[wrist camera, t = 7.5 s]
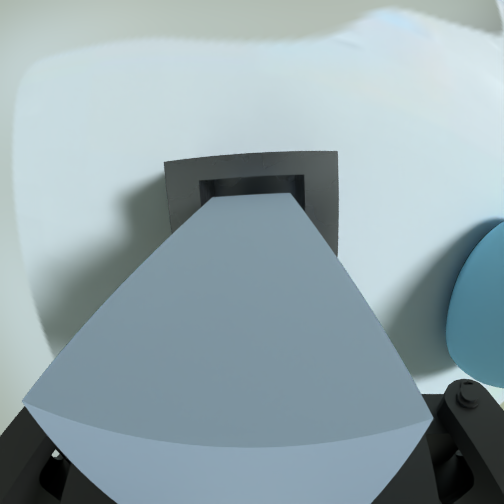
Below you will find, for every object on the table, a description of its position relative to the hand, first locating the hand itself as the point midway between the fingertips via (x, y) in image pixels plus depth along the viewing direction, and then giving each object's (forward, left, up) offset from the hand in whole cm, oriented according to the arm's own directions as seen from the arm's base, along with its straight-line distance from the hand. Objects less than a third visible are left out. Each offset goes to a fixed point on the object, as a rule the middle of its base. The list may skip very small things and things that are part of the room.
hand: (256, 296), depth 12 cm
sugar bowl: (+5, +22, -7) cm, 24 cm away
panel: (0, 0, 0) cm, 0 cm away
